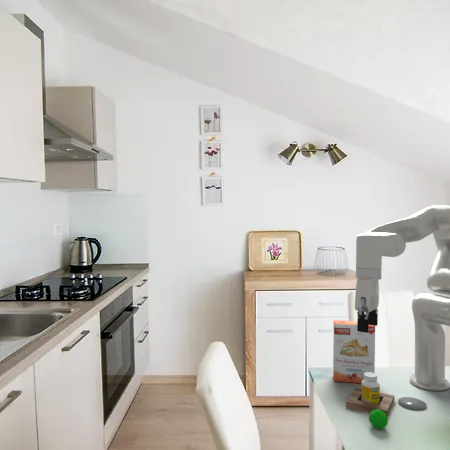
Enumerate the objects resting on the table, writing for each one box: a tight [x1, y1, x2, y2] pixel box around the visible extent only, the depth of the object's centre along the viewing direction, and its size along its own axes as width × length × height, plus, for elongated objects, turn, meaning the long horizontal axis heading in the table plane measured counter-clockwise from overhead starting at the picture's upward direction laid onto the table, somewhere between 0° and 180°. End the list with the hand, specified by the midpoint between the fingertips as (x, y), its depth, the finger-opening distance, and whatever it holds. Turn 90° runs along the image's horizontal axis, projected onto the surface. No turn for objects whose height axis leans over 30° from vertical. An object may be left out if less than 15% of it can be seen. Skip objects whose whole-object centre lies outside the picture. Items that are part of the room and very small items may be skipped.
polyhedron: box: [368, 409, 389, 430], centre depth 116 cm, size 5×5×5 cm
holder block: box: [345, 387, 395, 418], centre depth 130 cm, size 12×12×2 cm
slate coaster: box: [397, 396, 427, 411], centre depth 130 cm, size 8×8×1 cm
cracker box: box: [332, 319, 376, 384], centre depth 148 cm, size 14×6×21 cm, turn 77°
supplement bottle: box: [360, 372, 381, 405], centre depth 129 cm, size 5×5×10 cm
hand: (367, 328), depth 129 cm, fingers open, 9 cm apart
